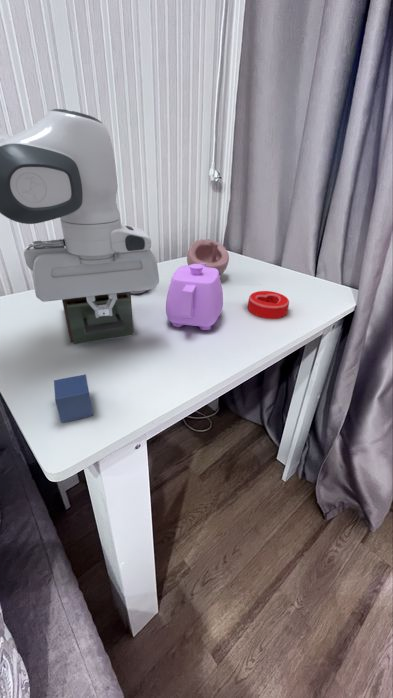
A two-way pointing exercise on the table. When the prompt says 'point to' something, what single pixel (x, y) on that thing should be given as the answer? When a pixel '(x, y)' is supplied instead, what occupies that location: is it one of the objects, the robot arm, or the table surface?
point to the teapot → (194, 296)
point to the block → (72, 398)
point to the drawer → (99, 320)
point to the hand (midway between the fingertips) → (103, 315)
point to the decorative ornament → (268, 304)
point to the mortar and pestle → (208, 254)
